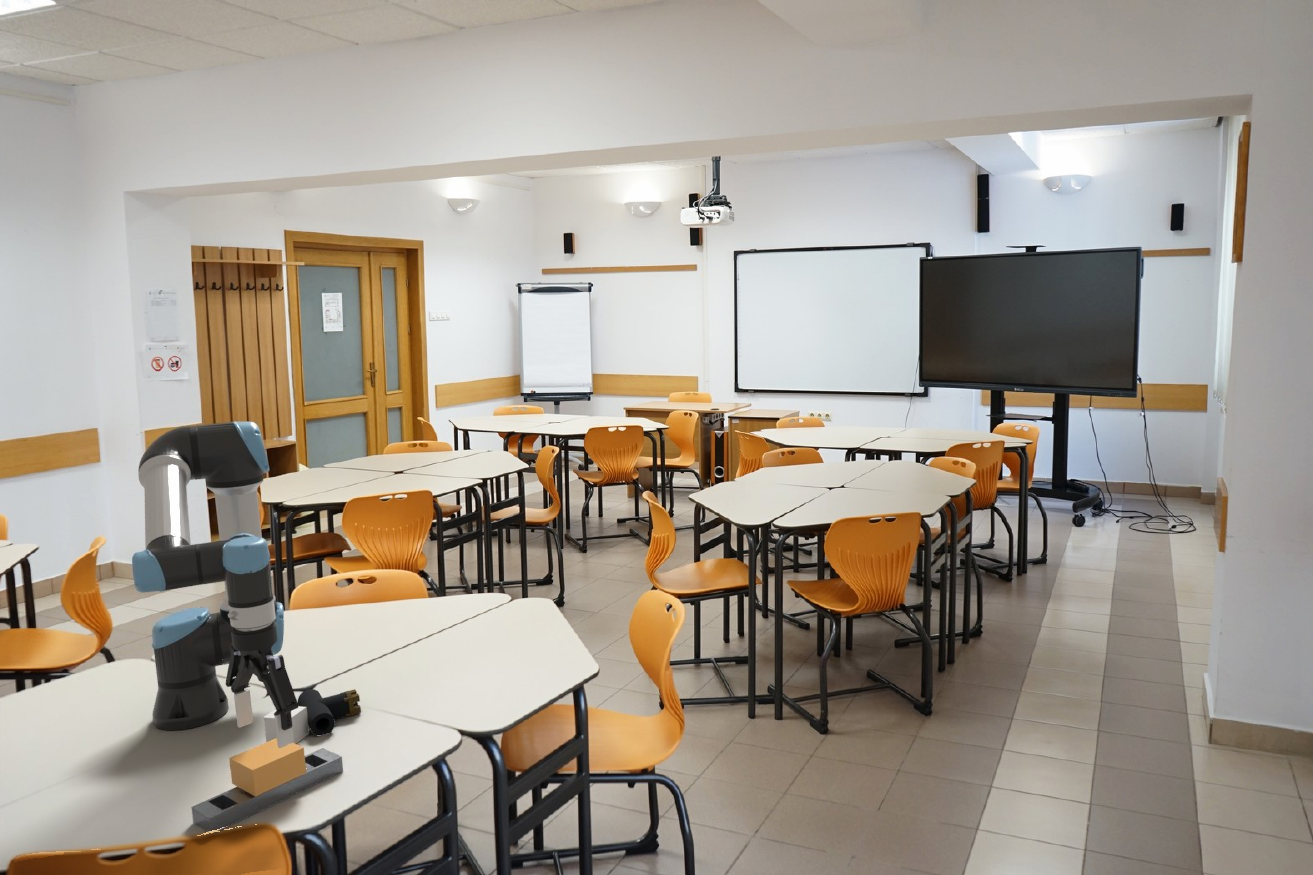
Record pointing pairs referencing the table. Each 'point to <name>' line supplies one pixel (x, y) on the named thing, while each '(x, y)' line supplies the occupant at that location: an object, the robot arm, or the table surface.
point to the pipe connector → (328, 709)
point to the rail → (263, 794)
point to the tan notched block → (267, 766)
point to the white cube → (298, 724)
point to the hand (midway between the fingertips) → (265, 734)
